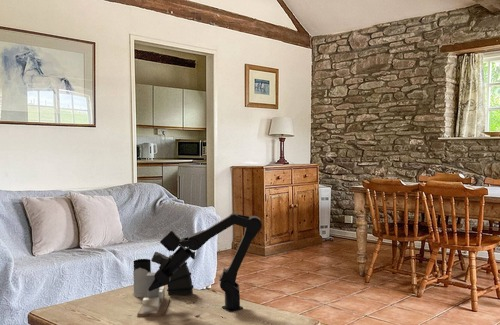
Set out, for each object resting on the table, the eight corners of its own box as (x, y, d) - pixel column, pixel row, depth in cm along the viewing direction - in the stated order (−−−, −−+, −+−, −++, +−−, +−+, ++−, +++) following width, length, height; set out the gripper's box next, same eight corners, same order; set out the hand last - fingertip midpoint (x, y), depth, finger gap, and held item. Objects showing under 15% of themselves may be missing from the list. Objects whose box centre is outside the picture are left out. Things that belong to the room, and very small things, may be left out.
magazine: (197, 292, 213) (183, 261, 213) (172, 303, 215) (157, 273, 216) (200, 289, 216) (185, 259, 217) (174, 301, 219) (160, 271, 219)
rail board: (169, 299, 208) (169, 285, 208) (163, 316, 188) (162, 300, 188) (146, 300, 208) (146, 285, 208) (137, 316, 188) (137, 300, 188)
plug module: (159, 303, 197) (159, 272, 197) (158, 307, 193) (157, 275, 192) (148, 304, 197) (147, 272, 197) (146, 307, 193) (145, 275, 192)
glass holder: (130, 296, 213) (129, 263, 212) (138, 287, 227) (138, 255, 227) (150, 296, 213) (149, 263, 212) (157, 287, 227) (156, 255, 226)
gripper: (166, 241, 204) (140, 267, 204) (159, 250, 185) (131, 279, 185) (185, 259, 204) (159, 285, 204) (180, 270, 185) (152, 299, 185)
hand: (150, 287), depth 195 cm, fingers open, 9 cm apart
